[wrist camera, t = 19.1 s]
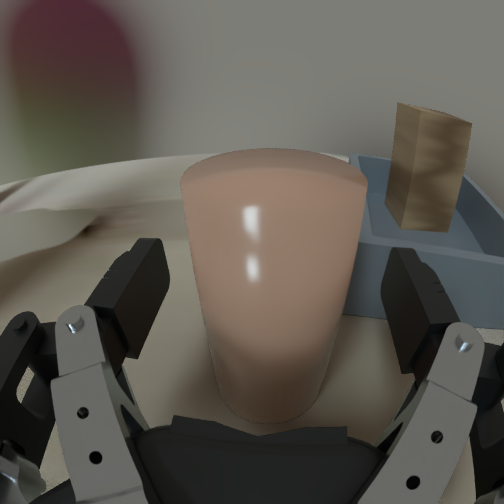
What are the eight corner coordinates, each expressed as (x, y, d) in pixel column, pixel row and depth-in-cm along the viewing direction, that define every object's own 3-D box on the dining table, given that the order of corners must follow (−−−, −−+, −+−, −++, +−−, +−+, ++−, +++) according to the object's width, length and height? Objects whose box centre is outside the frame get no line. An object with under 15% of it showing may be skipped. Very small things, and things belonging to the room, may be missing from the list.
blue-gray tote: (342, 313, 17) (358, 241, 14) (345, 196, 31) (349, 152, 28) (515, 329, 14) (548, 273, 11) (455, 214, 27) (466, 174, 25)
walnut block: (400, 229, 22) (420, 110, 17) (384, 203, 26) (397, 102, 21) (447, 232, 22) (471, 123, 16) (427, 207, 26) (443, 112, 20)
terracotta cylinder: (203, 408, 12) (142, 202, 6) (235, 331, 16) (221, 145, 10) (312, 432, 11) (376, 226, 5) (326, 347, 15) (361, 156, 9)
